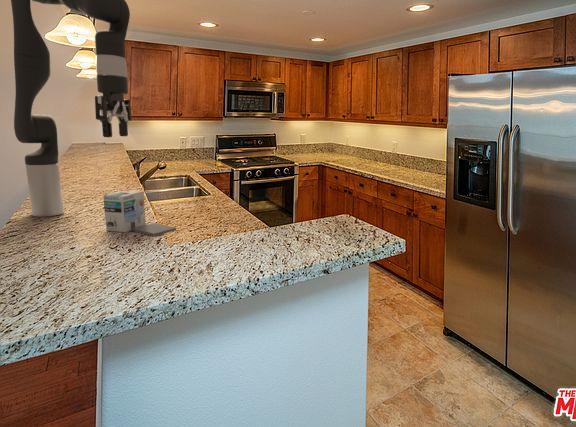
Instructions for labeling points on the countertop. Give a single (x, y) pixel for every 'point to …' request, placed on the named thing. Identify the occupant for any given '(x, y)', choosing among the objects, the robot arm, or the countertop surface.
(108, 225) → the light bulb box
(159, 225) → the plate
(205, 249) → the countertop surface
